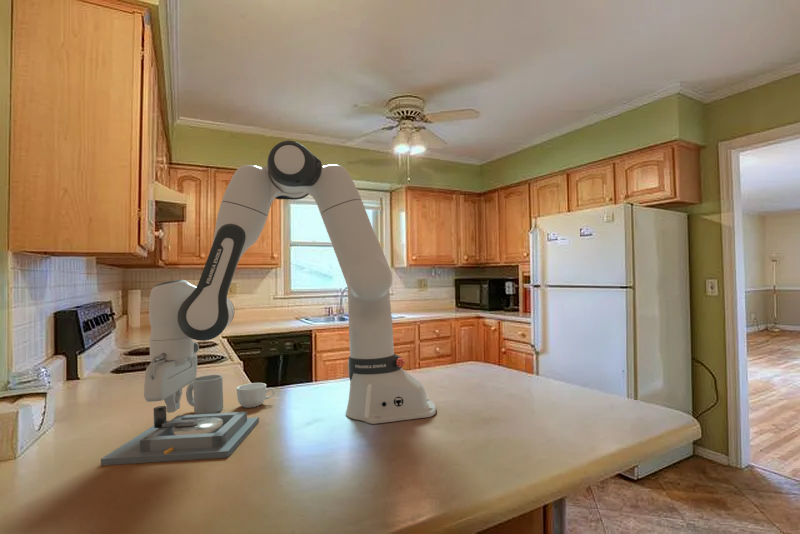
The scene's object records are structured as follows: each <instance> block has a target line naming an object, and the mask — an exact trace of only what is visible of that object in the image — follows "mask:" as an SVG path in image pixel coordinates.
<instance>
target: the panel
mask: <svg viewBox="0 0 800 534" xmlns="http://www.w3.org/2000/svg"><path fill="white" fill-rule="evenodd" d="M210 417H213V418H220V419H222V420H223V427H221V428H220V429H219V430H218V431H217V432H216V433H205V434H188V435H172V428H173V427H161V428H154V425H152V426H151V427H149V428H147V429H145V430H144V431H143V432H141V433H139V434H138V435H136V436H135V437H133V438H132V439H130V440H128V441H127V442H126V443H124V444H122V445H120V446H119V447H117V448H116V449H114V450H113V451H111V452H109V453H107V454H106V455H105V456H104V457H102V458H100V466H113V465H127V464H145V463H160V462H161V463H162V462H163V463H164V462H174V461H175V462H176V461H190V460H191V461H192V460H194V461H195V460H206V459H208V460H210V459H223V458H224V459H225V458H230V456H231V455H232V454H233V452H235V450H236V449H237V448H238V447H239V446H240V445H241V444H242V442H243V441H244V440H245V438H247V436H248V435H249V434H250V433H251V432H252V430H253V429H254V428H255V427H257V425H258V424H259V422H260V421H259V420H260V419H259V416H256V417H255V416H254V417H252V416H251V417H248V412H247V411H236V412H235V411H233V412H217V413H214V414H183V415H182V414H181V415H177V416H175V417H173V418H172V419H171V420H169V421H172V420H189V419H199V418H210Z"/></svg>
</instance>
